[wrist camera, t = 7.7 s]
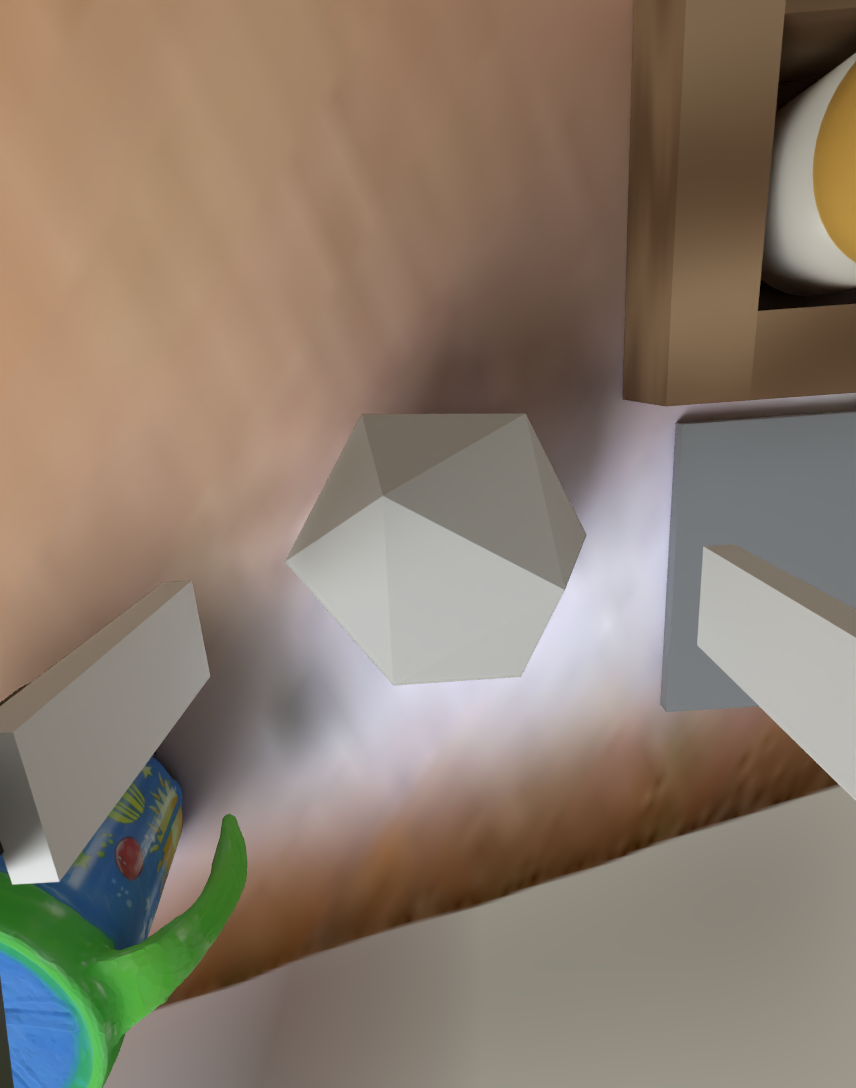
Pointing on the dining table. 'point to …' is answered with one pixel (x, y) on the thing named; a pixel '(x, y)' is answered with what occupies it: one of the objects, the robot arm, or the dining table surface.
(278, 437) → the dining table surface
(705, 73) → the brown square tray
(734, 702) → the coaster
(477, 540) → the die
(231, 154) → the dining table surface
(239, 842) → the snack cup
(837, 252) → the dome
